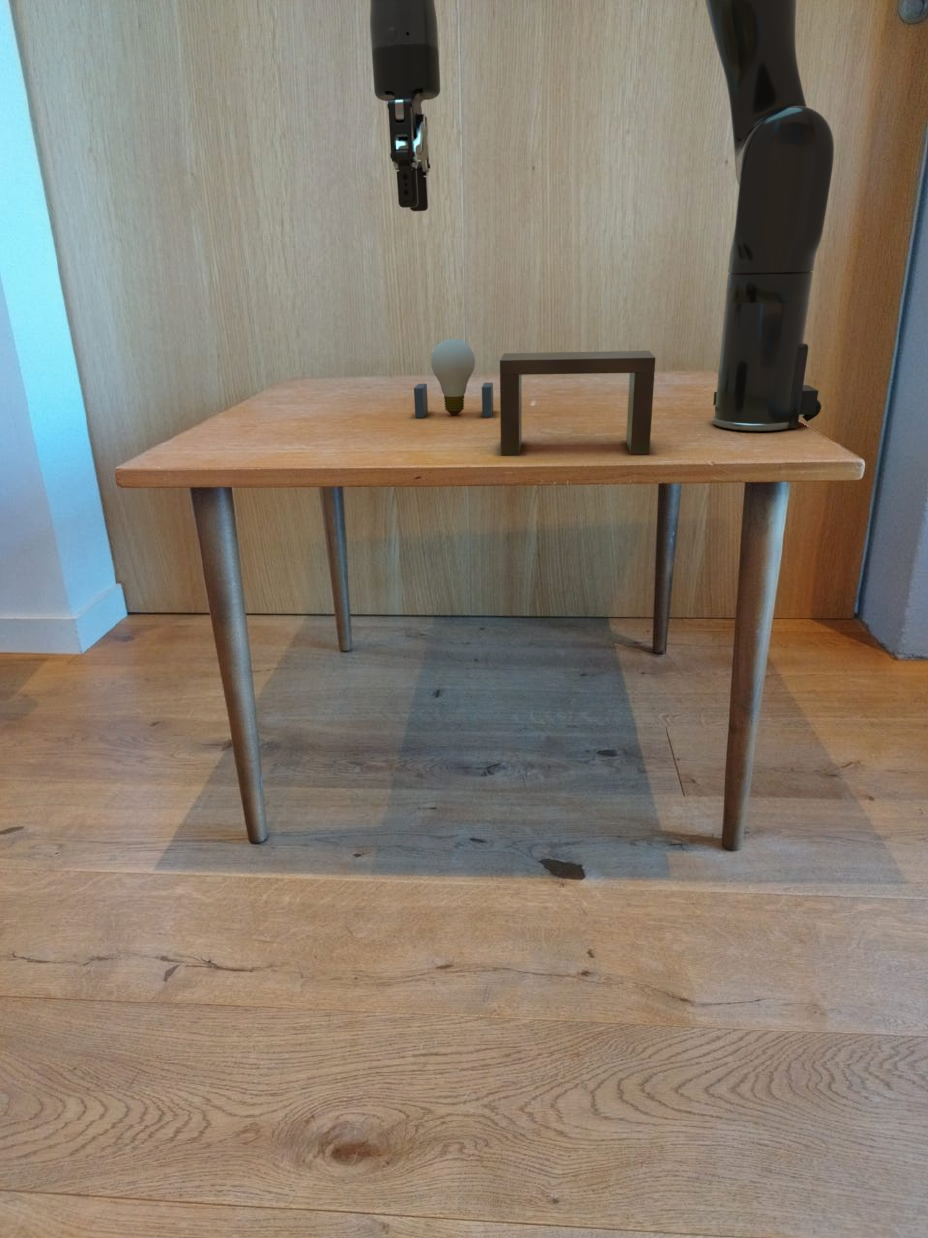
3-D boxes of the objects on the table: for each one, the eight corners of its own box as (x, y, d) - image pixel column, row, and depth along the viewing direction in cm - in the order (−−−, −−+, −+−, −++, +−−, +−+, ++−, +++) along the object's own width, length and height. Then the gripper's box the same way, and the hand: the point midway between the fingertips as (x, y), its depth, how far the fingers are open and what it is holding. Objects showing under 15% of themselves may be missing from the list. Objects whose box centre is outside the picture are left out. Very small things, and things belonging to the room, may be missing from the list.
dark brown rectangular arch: (643, 441, 94) (649, 350, 90) (649, 454, 88) (655, 357, 84) (504, 442, 95) (503, 353, 91) (500, 455, 90) (499, 360, 86)
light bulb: (451, 420, 109) (448, 341, 105) (424, 415, 113) (421, 339, 109) (484, 414, 112) (483, 338, 108) (458, 409, 117) (455, 335, 113)
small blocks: (493, 411, 114) (492, 382, 112) (491, 417, 110) (490, 386, 109) (419, 412, 115) (418, 383, 114) (415, 417, 112) (413, 387, 110)
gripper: (429, 29, 85) (438, 204, 91) (445, 59, 98) (451, 210, 104) (358, 34, 86) (372, 207, 92) (383, 63, 98) (393, 213, 105)
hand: (414, 209), depth 98 cm, fingers open, 8 cm apart
